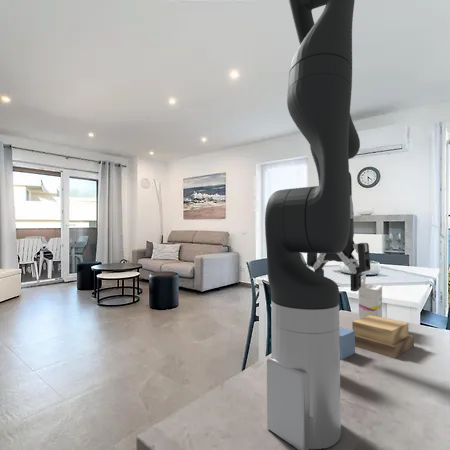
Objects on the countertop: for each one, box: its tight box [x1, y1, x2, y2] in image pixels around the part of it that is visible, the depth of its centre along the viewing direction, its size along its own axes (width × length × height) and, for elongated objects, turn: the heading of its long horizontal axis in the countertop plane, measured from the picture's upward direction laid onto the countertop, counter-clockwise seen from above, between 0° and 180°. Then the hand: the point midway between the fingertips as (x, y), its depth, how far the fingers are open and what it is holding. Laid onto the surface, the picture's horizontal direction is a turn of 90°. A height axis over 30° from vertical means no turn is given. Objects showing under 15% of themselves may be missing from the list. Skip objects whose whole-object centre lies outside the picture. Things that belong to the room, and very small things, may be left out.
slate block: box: [339, 326, 356, 360], centre depth 66 cm, size 6×6×5 cm
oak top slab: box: [352, 315, 410, 345], centre depth 71 cm, size 9×9×3 cm
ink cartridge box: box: [357, 273, 383, 319], centre depth 83 cm, size 9×5×15 cm, turn 144°
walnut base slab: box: [355, 334, 415, 359], centre depth 71 cm, size 11×11×3 cm
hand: (336, 287), depth 67 cm, fingers open, 8 cm apart
